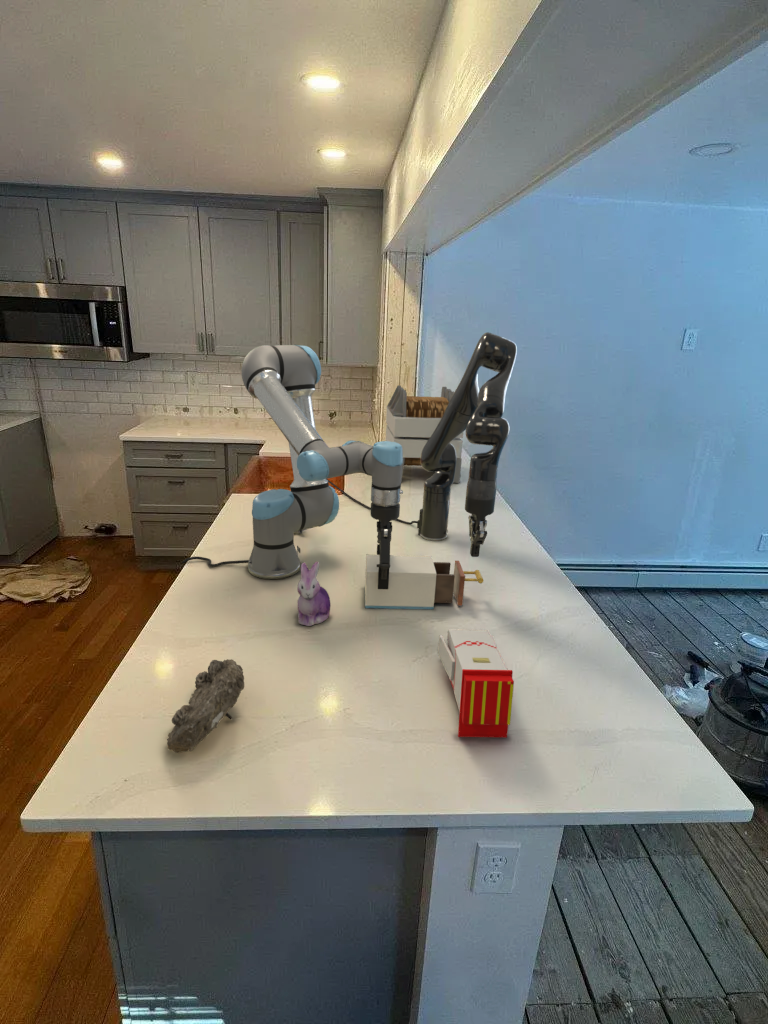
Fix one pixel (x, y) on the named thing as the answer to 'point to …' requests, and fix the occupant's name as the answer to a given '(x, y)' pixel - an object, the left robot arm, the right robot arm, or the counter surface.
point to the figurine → (312, 597)
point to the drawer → (452, 582)
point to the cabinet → (401, 583)
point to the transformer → (418, 425)
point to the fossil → (206, 705)
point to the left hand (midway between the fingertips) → (382, 577)
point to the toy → (478, 682)
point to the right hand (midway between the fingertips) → (474, 555)
